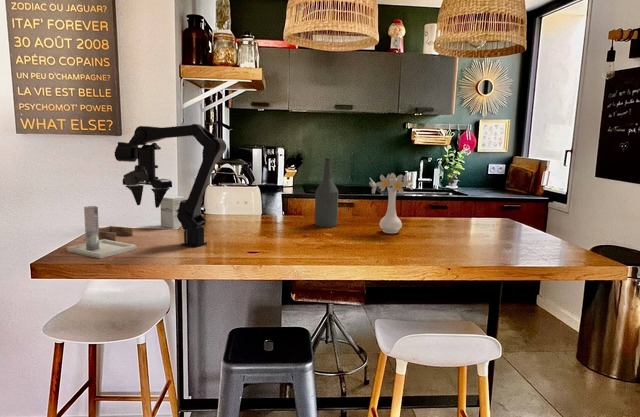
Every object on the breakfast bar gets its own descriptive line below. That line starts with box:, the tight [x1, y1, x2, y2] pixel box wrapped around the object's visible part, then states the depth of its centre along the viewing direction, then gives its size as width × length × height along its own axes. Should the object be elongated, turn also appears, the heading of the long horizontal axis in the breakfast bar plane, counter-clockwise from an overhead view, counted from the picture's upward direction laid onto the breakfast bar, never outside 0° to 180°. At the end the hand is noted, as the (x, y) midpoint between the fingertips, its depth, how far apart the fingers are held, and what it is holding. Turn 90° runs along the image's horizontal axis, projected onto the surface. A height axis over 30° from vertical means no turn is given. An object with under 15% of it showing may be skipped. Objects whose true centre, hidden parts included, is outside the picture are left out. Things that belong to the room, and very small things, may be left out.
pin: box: [83, 205, 100, 251], centre depth 154 cm, size 4×4×14 cm
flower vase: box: [368, 172, 413, 234], centre depth 196 cm, size 13×18×25 cm
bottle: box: [314, 157, 339, 228], centre depth 207 cm, size 10×10×30 cm
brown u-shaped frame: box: [99, 225, 134, 241], centre depth 175 cm, size 10×10×3 cm
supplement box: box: [160, 195, 186, 229], centre depth 197 cm, size 7×7×13 cm
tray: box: [66, 239, 137, 260], centre depth 156 cm, size 16×14×2 cm
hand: (147, 206), depth 167 cm, fingers open, 9 cm apart
